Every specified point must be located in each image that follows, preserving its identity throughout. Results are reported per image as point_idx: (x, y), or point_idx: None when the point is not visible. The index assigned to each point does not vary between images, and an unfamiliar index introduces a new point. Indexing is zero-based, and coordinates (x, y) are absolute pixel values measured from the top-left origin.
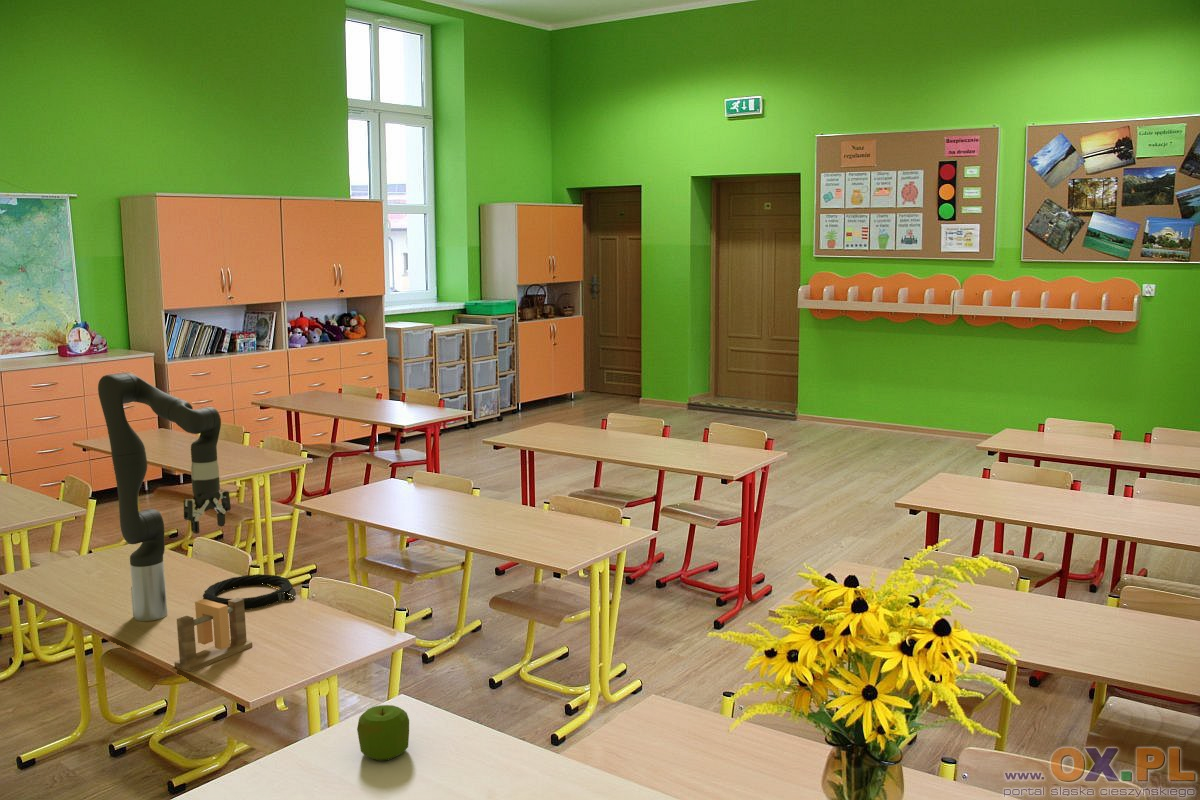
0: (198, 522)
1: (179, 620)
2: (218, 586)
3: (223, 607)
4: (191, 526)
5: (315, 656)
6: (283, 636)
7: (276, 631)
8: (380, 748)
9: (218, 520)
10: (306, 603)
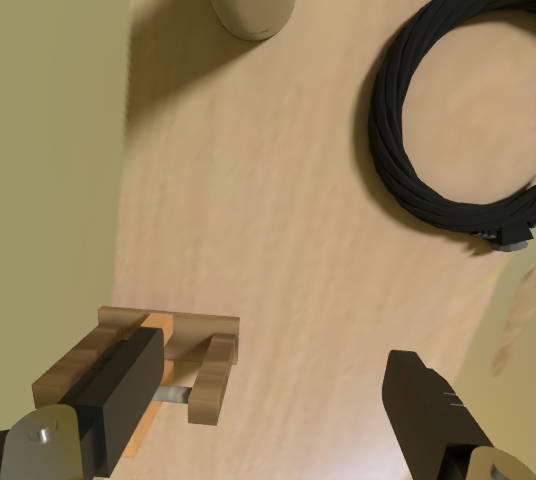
0: (112, 462)
1: (34, 393)
2: (490, 2)
3: (123, 454)
4: (88, 375)
5: (257, 470)
6: (300, 375)
7: (315, 347)
8: None
9: (407, 394)
10: (480, 291)
